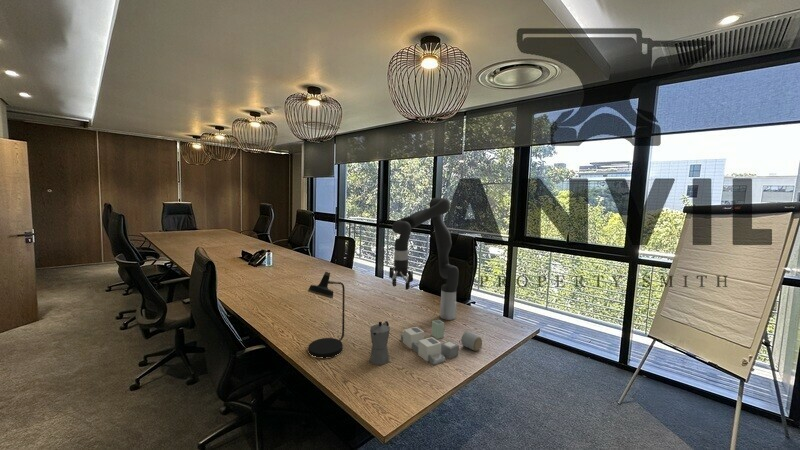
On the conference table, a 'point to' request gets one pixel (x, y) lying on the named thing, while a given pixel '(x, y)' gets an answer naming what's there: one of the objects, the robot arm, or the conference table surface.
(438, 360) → the rail
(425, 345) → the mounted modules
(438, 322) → the module
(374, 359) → the coffeepot
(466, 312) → the conference table surface
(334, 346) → the lamp
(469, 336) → the ceramic mug
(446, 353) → the block
